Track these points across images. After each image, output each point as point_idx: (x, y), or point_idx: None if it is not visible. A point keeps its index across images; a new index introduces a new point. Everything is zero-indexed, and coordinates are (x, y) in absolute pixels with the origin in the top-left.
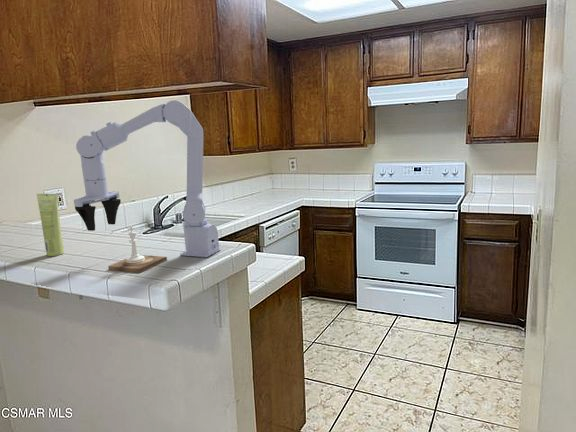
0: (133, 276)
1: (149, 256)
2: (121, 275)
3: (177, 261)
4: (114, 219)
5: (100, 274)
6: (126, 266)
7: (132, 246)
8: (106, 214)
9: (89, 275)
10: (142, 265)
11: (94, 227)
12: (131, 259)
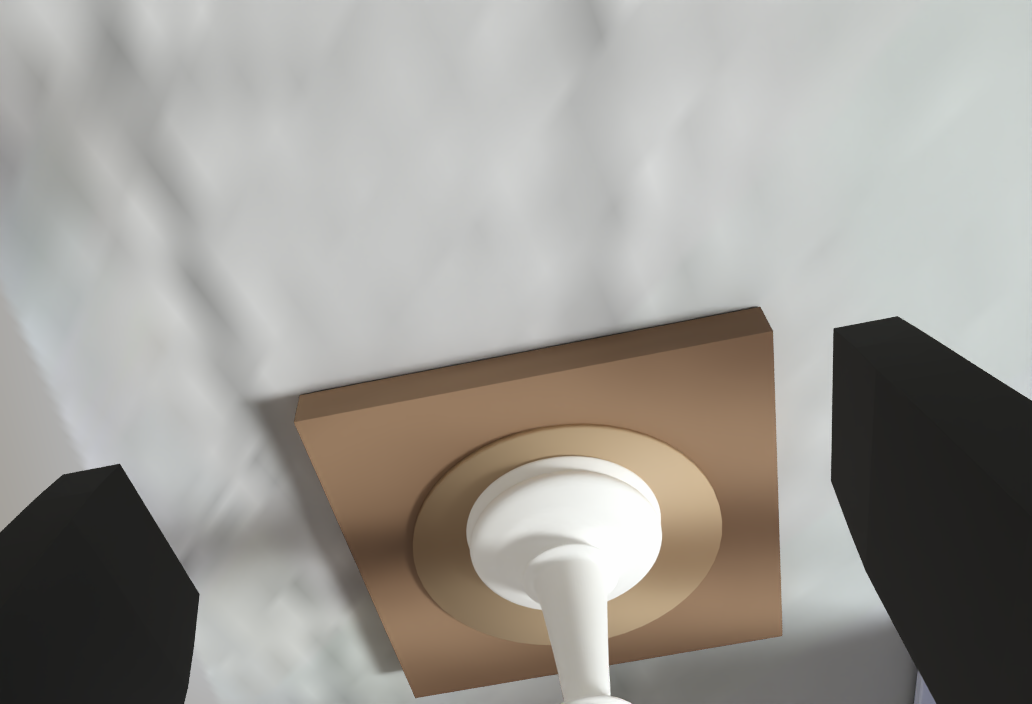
0: (327, 685)
1: (748, 511)
2: (281, 607)
3: (768, 681)
4: (904, 610)
5: (165, 445)
6: (396, 573)
7: (559, 674)
8: (1010, 526)
9: (64, 378)
10: (492, 651)
11: (164, 678)
12: (492, 579)
